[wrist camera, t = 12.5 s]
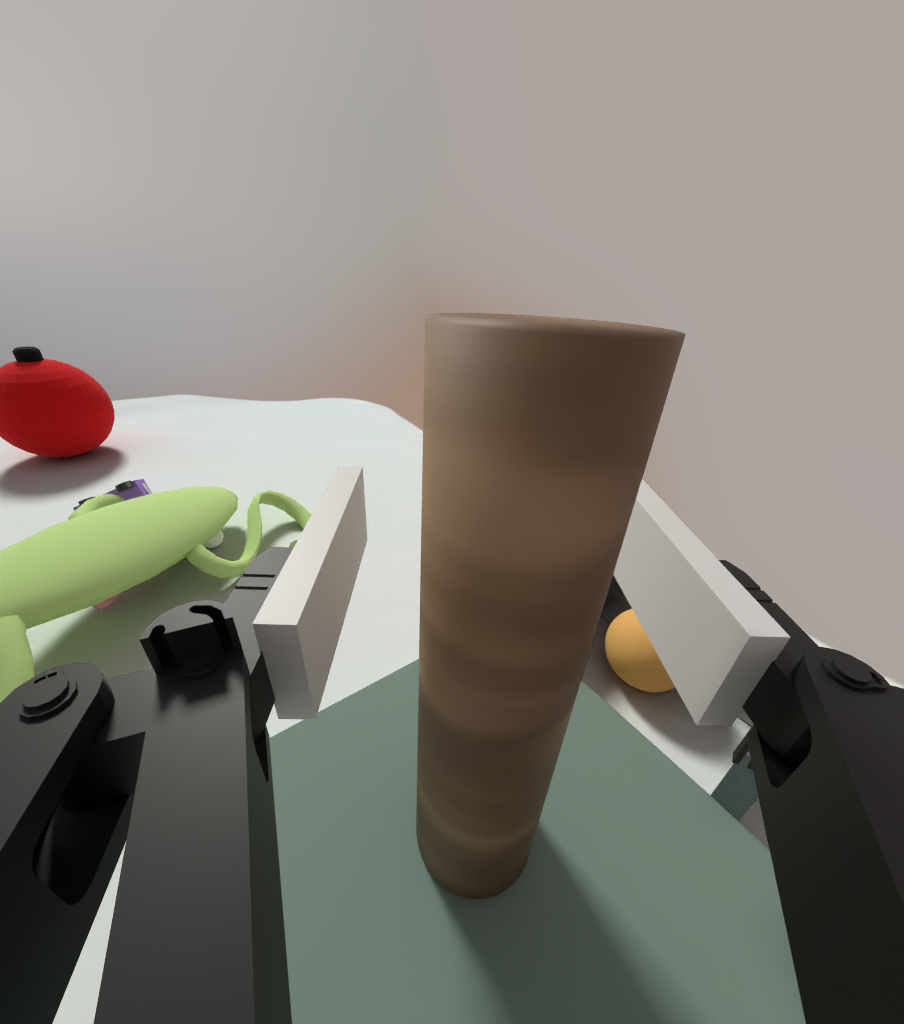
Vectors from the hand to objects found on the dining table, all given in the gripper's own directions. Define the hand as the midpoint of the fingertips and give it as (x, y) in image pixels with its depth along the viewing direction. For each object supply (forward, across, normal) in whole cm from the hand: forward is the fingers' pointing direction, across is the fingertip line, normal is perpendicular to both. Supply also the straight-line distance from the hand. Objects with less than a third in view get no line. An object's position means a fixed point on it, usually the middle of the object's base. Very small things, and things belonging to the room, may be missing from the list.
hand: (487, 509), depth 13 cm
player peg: (-5, 0, -10) cm, 11 cm away
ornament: (+27, -38, -11) cm, 48 cm away
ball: (+2, +9, -9) cm, 13 cm away
